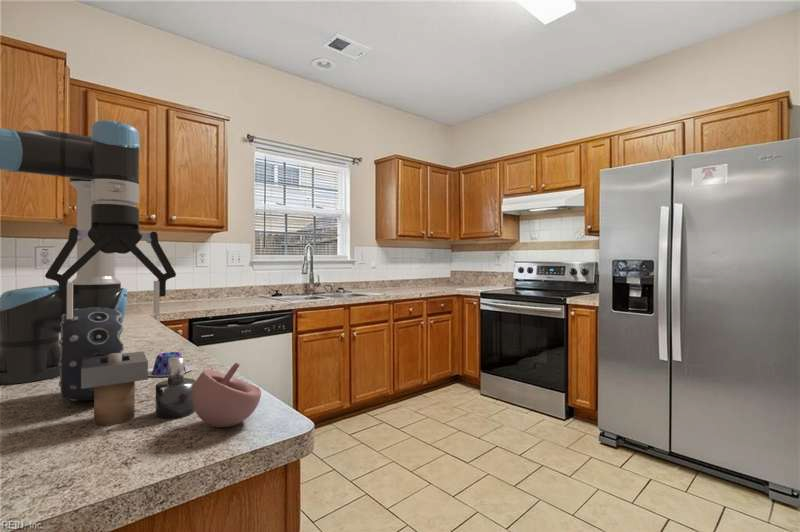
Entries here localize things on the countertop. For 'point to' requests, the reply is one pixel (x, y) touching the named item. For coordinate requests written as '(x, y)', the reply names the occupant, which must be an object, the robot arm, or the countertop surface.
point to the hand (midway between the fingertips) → (115, 315)
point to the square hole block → (113, 370)
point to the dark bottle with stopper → (174, 392)
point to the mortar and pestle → (224, 398)
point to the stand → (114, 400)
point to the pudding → (165, 364)
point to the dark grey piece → (86, 346)
